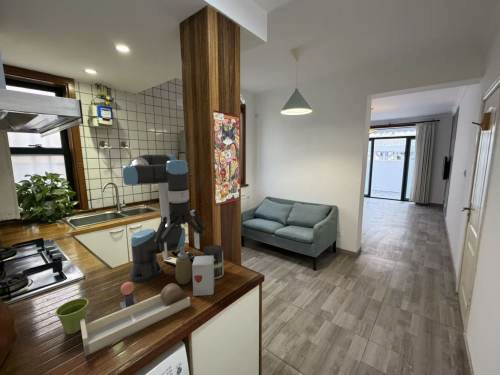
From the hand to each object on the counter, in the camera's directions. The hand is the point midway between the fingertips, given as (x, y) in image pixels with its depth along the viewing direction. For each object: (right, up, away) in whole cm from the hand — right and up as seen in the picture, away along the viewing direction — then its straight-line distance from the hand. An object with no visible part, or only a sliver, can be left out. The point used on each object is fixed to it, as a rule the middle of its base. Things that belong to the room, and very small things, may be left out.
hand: (181, 253), depth 88 cm
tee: (-24, -23, +5) cm, 34 cm away
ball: (-24, -16, +4) cm, 29 cm away
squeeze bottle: (-6, -21, +22) cm, 31 cm away
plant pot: (-37, -26, -7) cm, 45 cm away
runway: (-15, -25, -3) cm, 29 cm away
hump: (-5, -23, +5) cm, 24 cm away
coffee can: (+8, -20, +29) cm, 36 cm away
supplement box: (+6, -22, +15) cm, 27 cm away
